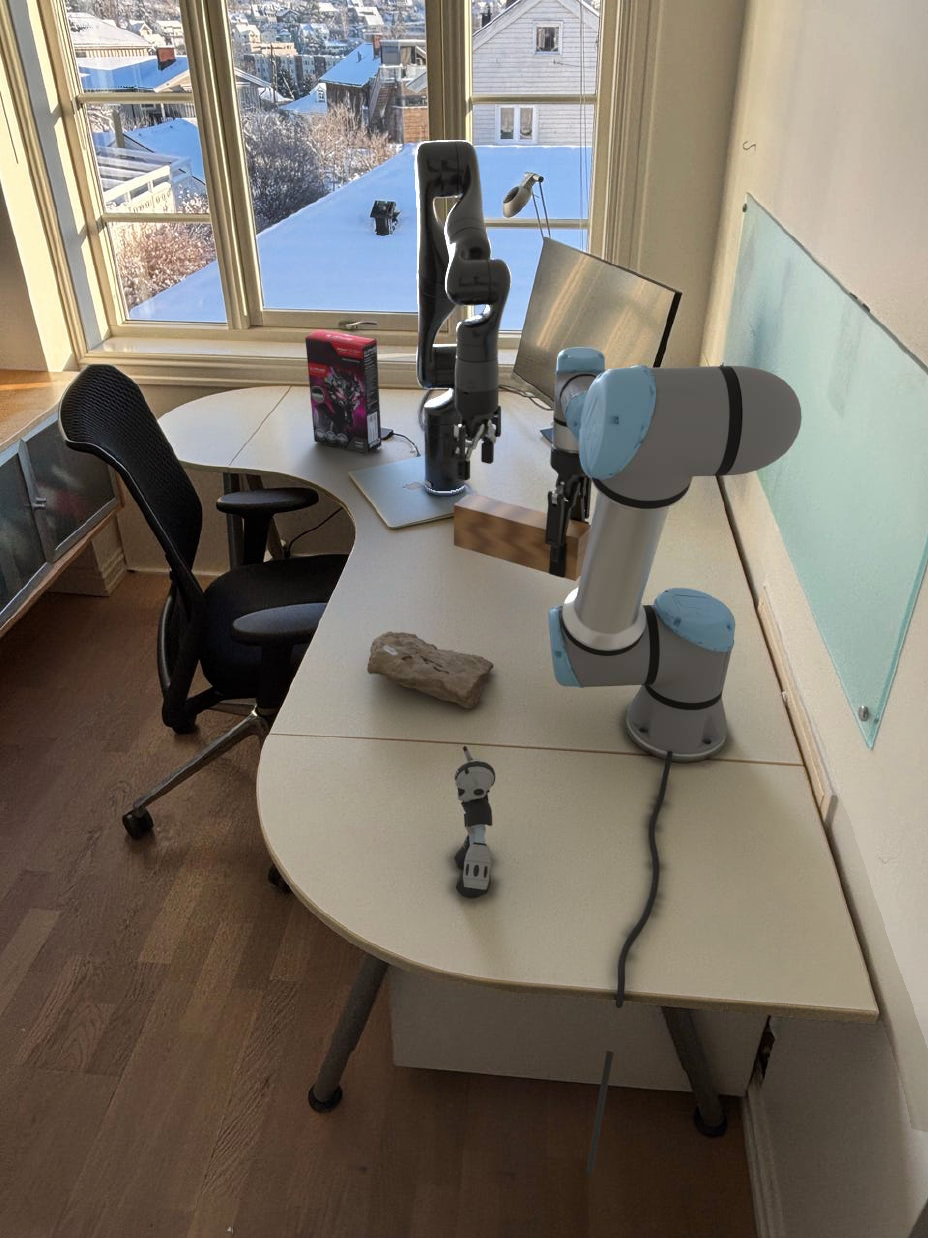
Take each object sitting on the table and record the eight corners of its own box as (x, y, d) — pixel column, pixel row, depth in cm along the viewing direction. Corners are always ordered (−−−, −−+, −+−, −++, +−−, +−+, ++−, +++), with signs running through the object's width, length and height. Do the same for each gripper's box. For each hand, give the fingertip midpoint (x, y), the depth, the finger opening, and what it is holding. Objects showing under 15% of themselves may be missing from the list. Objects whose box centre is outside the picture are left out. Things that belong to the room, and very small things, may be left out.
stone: (342, 681, 147) (349, 648, 145) (376, 648, 161) (382, 617, 158) (465, 726, 144) (475, 692, 141) (489, 688, 157) (498, 657, 155)
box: (588, 566, 165) (592, 525, 160) (575, 581, 160) (578, 538, 156) (469, 532, 175) (469, 492, 170) (453, 545, 171) (453, 504, 166)
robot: (497, 935, 111) (502, 818, 100) (457, 937, 111) (458, 819, 100) (486, 816, 127) (489, 703, 116) (451, 817, 127) (451, 704, 116)
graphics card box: (312, 442, 234) (302, 335, 219) (327, 433, 240) (319, 327, 224) (368, 456, 228) (362, 346, 213) (383, 446, 233) (379, 338, 218)
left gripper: (478, 367, 164) (477, 453, 173) (436, 390, 154) (437, 480, 162) (515, 374, 161) (512, 461, 170) (475, 398, 151) (474, 489, 159)
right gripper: (577, 421, 159) (567, 539, 172) (527, 460, 146) (521, 585, 158) (617, 430, 156) (605, 549, 169) (571, 470, 142) (561, 597, 155)
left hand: (475, 470), depth 166 cm, fingers open, 8 cm apart
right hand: (564, 566), depth 164 cm, fingers closed on box, 6 cm apart
